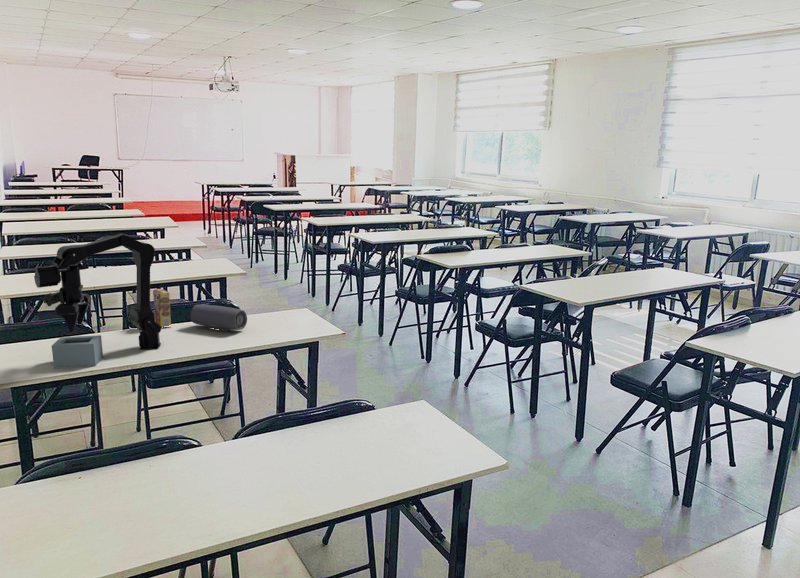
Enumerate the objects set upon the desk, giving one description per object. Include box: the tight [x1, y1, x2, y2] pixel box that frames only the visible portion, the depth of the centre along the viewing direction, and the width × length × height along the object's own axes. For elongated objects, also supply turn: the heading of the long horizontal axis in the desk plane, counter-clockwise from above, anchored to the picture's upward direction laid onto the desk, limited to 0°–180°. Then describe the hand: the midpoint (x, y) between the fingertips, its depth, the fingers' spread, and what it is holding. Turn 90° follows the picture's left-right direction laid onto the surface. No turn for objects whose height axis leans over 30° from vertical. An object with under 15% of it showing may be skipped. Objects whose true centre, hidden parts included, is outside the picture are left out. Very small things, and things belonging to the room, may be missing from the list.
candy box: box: [152, 288, 172, 327], centre depth 255 cm, size 9×4×15 cm, turn 39°
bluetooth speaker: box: [189, 304, 248, 332], centre depth 251 cm, size 23×9×10 cm, turn 68°
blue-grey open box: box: [51, 334, 104, 369], centre depth 209 cm, size 13×10×8 cm
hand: (76, 327), depth 207 cm, fingers open, 9 cm apart
